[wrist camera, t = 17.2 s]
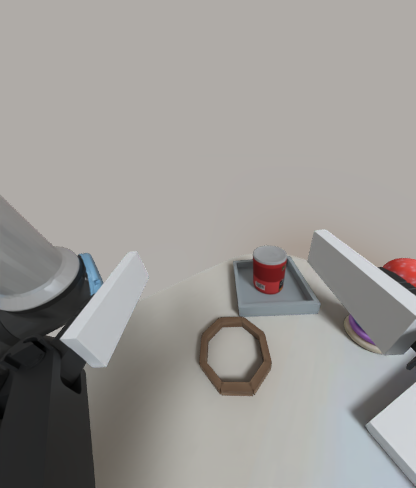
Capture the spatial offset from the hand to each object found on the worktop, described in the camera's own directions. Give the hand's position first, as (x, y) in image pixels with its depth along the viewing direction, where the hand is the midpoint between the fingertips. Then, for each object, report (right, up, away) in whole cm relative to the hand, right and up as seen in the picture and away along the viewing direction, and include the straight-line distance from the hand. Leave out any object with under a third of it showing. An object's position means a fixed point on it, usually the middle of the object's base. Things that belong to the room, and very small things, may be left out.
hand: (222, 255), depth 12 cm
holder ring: (+4, -22, +21) cm, 30 cm away
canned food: (+16, -11, +33) cm, 38 cm away
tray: (+16, -12, +34) cm, 39 cm away
